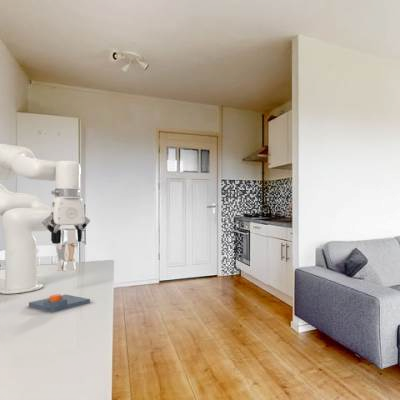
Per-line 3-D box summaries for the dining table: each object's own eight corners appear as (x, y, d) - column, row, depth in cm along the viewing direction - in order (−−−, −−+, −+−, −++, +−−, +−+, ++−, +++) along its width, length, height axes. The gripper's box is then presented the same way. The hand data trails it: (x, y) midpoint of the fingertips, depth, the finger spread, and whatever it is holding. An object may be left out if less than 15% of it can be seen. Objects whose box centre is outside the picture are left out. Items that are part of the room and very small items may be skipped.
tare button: (47, 301, 105) (47, 296, 105) (58, 299, 107) (58, 293, 107) (53, 303, 103) (52, 297, 103) (63, 300, 106) (63, 294, 106)
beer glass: (69, 271, 122) (69, 229, 123) (50, 271, 123) (50, 229, 123) (81, 268, 129) (82, 228, 130) (63, 267, 129) (64, 228, 130)
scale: (25, 307, 108) (25, 298, 108) (65, 298, 118) (65, 289, 118) (50, 313, 101) (50, 303, 101) (90, 303, 112) (90, 294, 112)
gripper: (46, 193, 117) (45, 245, 117) (97, 194, 132) (96, 240, 132) (35, 193, 120) (34, 244, 120) (85, 195, 136) (84, 239, 136)
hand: (66, 242), depth 126 cm, fingers closed on beer glass, 7 cm apart
